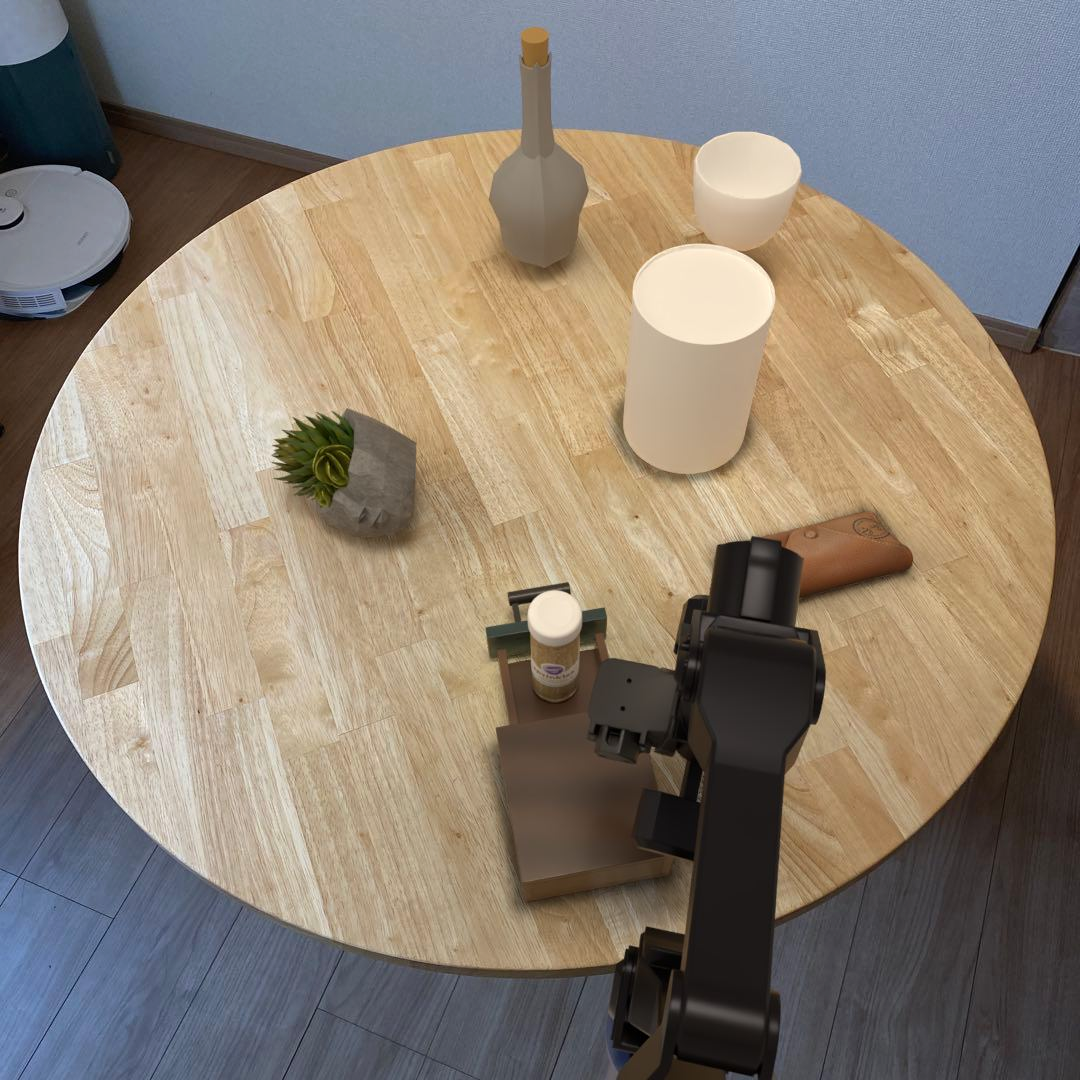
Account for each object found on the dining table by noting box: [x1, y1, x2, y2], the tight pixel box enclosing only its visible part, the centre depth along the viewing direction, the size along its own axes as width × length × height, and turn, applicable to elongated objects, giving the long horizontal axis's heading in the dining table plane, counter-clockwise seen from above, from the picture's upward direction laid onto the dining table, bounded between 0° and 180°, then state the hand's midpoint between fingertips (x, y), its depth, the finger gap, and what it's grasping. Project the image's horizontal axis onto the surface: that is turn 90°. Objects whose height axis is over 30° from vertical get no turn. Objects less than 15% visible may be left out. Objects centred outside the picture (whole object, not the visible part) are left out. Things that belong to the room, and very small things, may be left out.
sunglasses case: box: [745, 511, 914, 600], centre depth 105 cm, size 18×7×7 cm, turn 107°
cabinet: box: [495, 711, 674, 903], centre depth 91 cm, size 14×13×6 cm
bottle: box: [488, 26, 590, 269], centre depth 119 cm, size 11×11×30 cm
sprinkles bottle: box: [527, 590, 583, 703], centre depth 92 cm, size 5×5×14 cm
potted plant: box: [270, 407, 417, 538], centre depth 107 cm, size 12×13×15 cm
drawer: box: [484, 581, 610, 725], centre depth 98 cm, size 17×11×4 cm
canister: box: [622, 243, 776, 475], centre depth 108 cm, size 14×14×20 cm
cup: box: [692, 131, 803, 252], centre depth 122 cm, size 12×12×17 cm
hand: (677, 740), depth 83 cm, fingers open, 9 cm apart
